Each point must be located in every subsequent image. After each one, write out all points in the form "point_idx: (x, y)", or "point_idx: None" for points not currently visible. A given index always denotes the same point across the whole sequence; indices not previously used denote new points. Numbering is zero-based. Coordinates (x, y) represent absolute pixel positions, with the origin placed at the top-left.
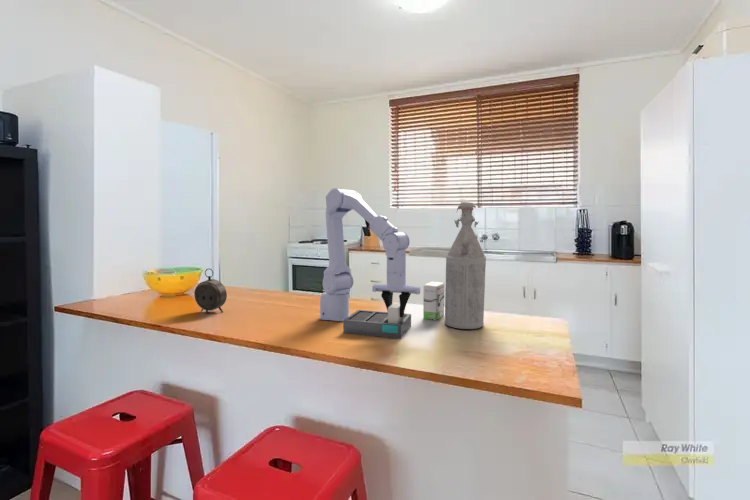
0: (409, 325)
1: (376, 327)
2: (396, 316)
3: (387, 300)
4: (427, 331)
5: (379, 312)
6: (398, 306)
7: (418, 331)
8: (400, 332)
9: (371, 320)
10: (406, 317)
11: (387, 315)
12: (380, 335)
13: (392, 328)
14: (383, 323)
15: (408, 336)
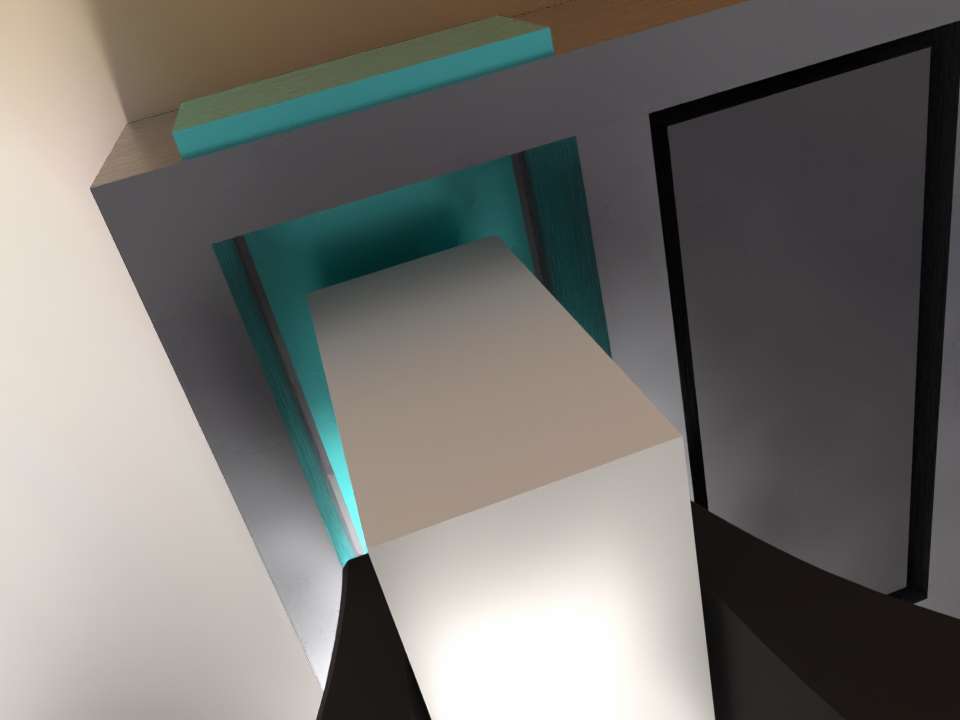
0: None
1: (652, 11)
2: (364, 399)
3: (867, 677)
4: (25, 672)
5: None
6: (466, 706)
7: (140, 595)
8: (128, 142)
9: (864, 174)
10: None
11: None
12: (517, 19)
13: (293, 83)
14: (545, 77)
15: (110, 316)
